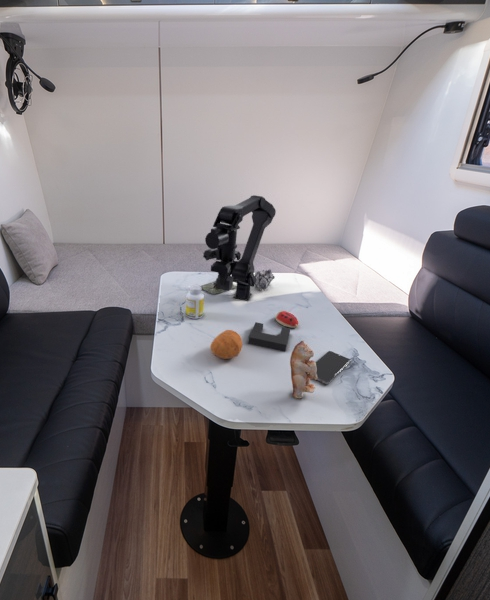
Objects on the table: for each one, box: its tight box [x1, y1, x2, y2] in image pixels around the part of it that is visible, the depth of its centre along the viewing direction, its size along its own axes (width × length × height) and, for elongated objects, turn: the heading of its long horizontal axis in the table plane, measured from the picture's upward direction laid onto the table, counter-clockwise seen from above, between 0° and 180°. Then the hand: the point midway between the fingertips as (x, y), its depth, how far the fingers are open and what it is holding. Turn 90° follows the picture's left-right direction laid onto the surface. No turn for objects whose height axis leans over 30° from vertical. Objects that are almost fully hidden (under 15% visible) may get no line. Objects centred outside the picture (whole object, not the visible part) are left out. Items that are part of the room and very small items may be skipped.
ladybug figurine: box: [275, 310, 299, 329], centre depth 135 cm, size 7×10×4 cm
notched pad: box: [247, 321, 291, 352], centre depth 125 cm, size 11×12×2 cm
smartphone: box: [314, 350, 352, 385], centre depth 111 cm, size 7×1×16 cm
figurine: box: [289, 340, 317, 399], centre depth 98 cm, size 6×8×15 cm
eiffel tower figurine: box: [200, 273, 237, 295], centre depth 161 cm, size 15×10×13 cm
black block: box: [215, 275, 234, 292], centre depth 141 cm, size 5×5×4 cm
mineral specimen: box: [254, 268, 276, 291], centre depth 164 cm, size 12×9×10 cm
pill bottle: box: [185, 284, 205, 320], centre depth 138 cm, size 6×6×12 cm
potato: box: [210, 329, 243, 360], centre depth 115 cm, size 9×11×8 cm
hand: (224, 282), depth 141 cm, fingers closed on black block, 5 cm apart
